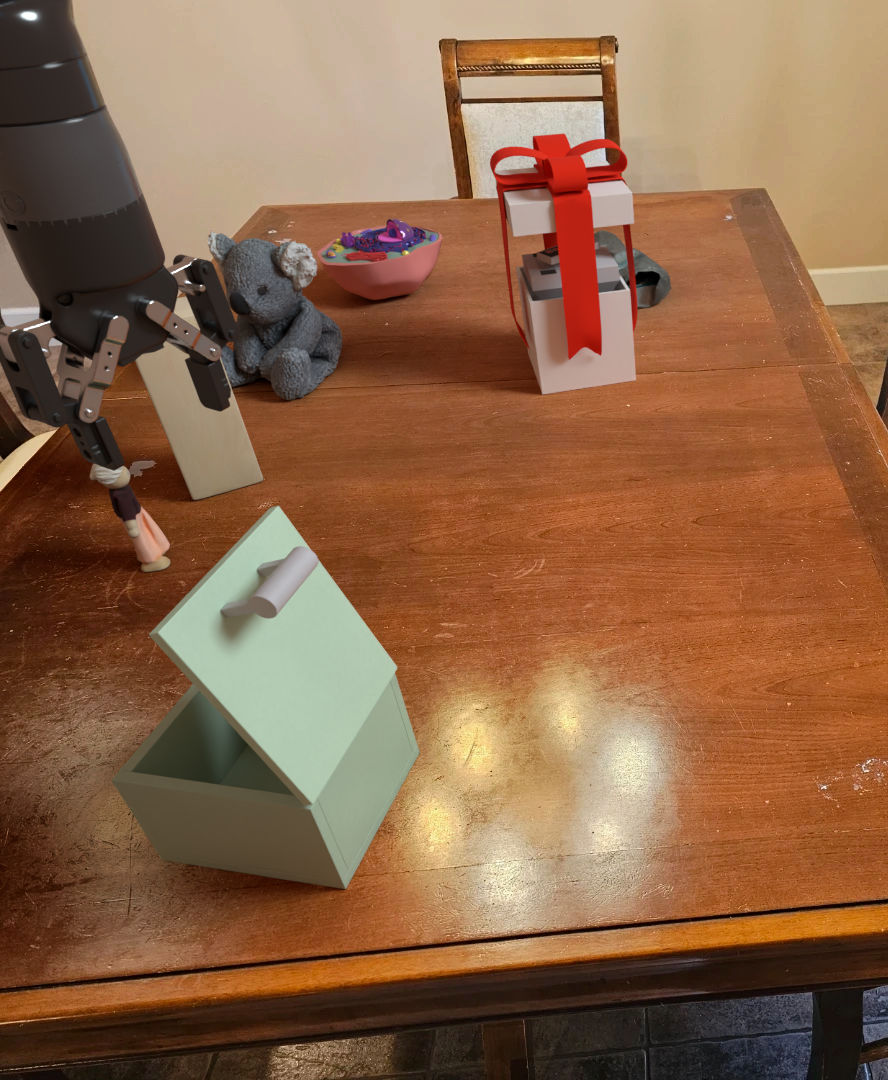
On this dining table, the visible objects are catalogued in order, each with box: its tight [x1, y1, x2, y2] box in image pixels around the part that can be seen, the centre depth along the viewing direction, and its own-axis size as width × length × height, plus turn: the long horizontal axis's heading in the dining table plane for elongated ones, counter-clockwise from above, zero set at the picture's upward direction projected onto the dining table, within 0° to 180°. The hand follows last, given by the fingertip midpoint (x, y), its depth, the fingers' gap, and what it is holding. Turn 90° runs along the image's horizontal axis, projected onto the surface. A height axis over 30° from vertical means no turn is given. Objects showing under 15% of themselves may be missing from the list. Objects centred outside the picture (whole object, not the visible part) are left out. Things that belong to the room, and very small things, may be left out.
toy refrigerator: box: [134, 296, 264, 501], centre depth 104 cm, size 8×7×21 cm
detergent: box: [594, 229, 672, 310], centre depth 155 cm, size 13×7×25 cm
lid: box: [148, 505, 398, 805], centre depth 61 cm, size 16×13×5 cm
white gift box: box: [489, 133, 638, 395], centre depth 124 cm, size 17×17×30 cm
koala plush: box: [206, 229, 344, 401], centre depth 127 cm, size 17×18×20 cm
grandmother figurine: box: [89, 463, 171, 573], centre depth 94 cm, size 8×4×13 cm, turn 45°
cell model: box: [316, 218, 443, 301], centre depth 151 cm, size 17×20×11 cm
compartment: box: [110, 672, 421, 890], centre depth 70 cm, size 15×13×9 cm
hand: (166, 435), depth 64 cm, fingers open, 8 cm apart
